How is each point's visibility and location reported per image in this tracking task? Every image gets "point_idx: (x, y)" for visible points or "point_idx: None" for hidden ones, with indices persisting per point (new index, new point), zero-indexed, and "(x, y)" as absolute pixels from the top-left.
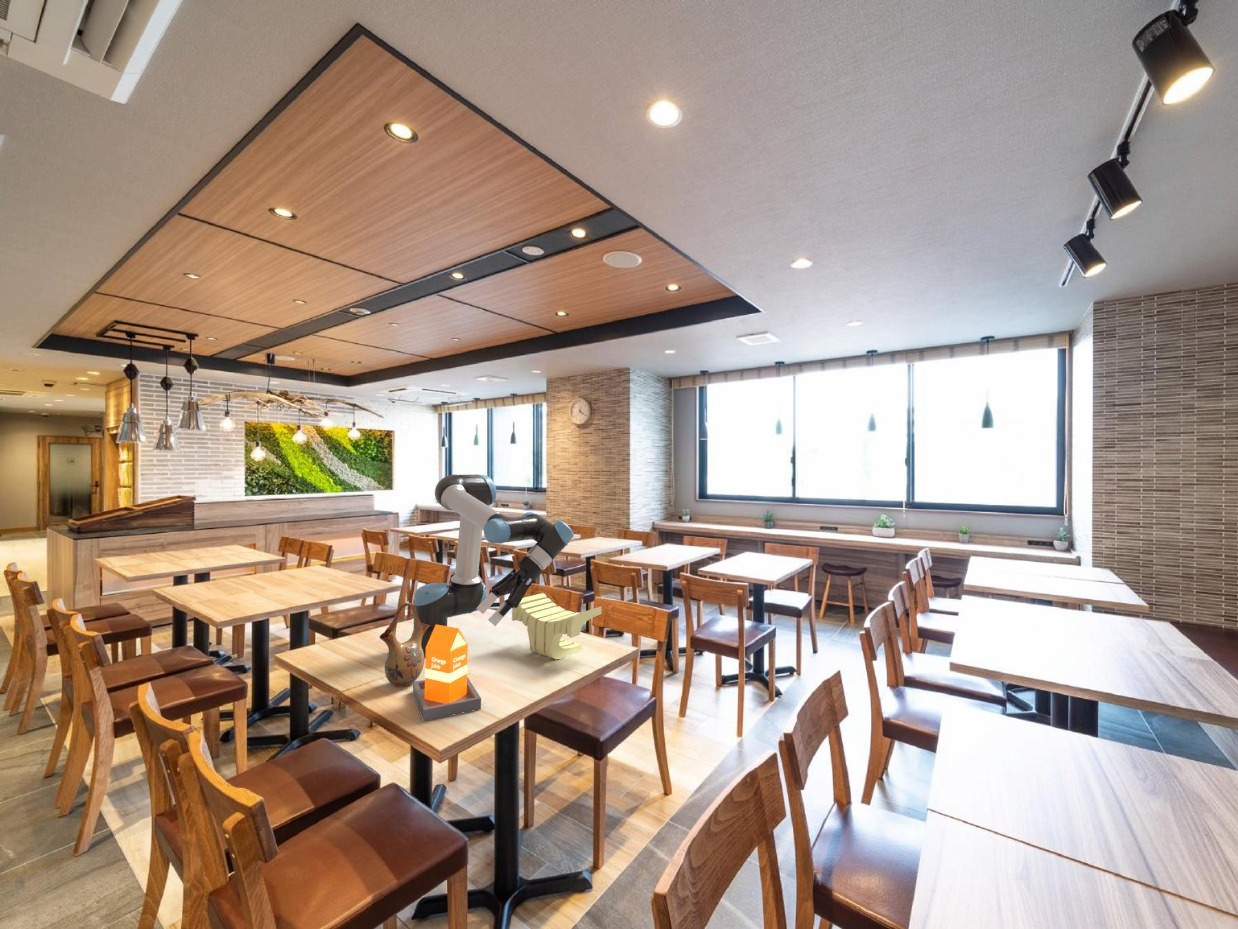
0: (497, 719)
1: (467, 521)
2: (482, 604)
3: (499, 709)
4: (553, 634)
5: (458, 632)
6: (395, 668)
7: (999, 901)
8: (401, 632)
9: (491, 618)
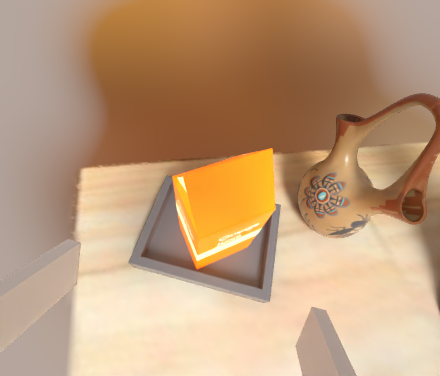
0: None
1: None
2: (321, 346)
3: (103, 295)
4: None
5: (199, 190)
6: (306, 173)
7: None
8: None
9: (53, 250)
